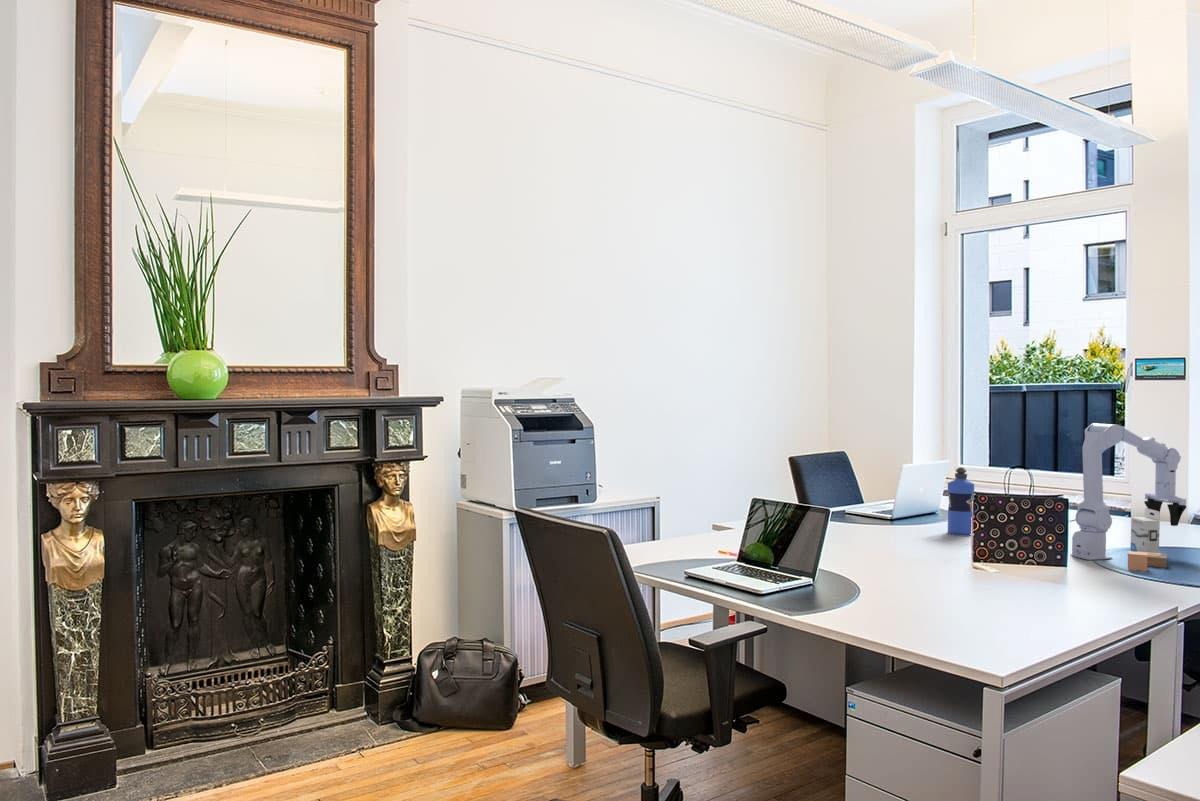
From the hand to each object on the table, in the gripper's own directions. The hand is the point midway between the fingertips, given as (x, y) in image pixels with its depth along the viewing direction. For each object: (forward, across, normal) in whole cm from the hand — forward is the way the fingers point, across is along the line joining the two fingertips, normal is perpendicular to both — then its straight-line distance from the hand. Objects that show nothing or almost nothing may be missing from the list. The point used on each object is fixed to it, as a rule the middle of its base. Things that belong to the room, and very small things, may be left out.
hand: (1164, 523), depth 295 cm
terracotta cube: (+10, -18, +28) cm, 35 cm away
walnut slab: (+10, -13, +18) cm, 24 cm away
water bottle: (+10, +49, +43) cm, 66 cm away
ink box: (+10, +2, +6) cm, 12 cm away
